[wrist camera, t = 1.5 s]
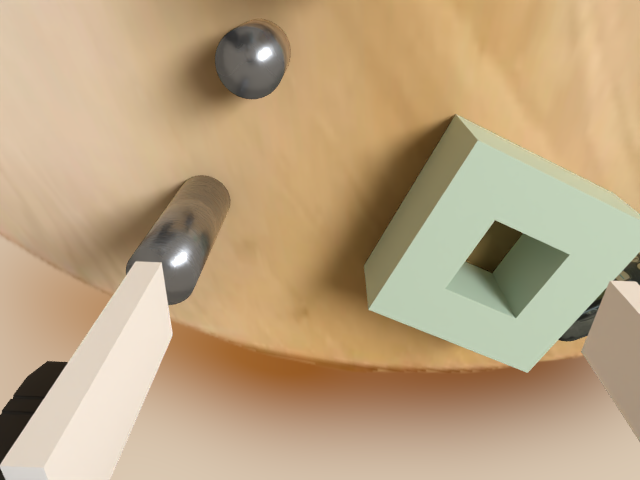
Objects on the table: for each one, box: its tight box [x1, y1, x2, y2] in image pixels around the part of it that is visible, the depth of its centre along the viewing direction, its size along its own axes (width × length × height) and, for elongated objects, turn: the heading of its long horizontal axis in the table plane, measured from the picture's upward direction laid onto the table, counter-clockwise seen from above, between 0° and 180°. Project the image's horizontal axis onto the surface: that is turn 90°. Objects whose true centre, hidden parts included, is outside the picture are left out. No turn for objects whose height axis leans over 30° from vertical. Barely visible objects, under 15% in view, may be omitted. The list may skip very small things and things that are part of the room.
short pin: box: [215, 19, 291, 99], centre depth 30 cm, size 4×4×5 cm
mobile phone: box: [558, 252, 640, 341], centre depth 38 cm, size 5×3×15 cm
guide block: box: [364, 115, 640, 373], centre depth 36 cm, size 14×14×6 cm
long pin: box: [126, 176, 230, 305], centre depth 33 cm, size 4×4×11 cm
